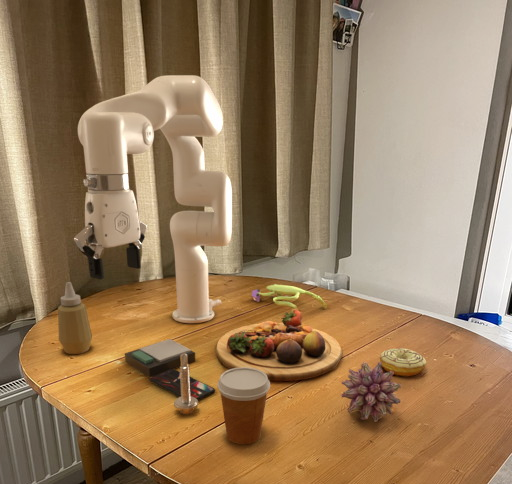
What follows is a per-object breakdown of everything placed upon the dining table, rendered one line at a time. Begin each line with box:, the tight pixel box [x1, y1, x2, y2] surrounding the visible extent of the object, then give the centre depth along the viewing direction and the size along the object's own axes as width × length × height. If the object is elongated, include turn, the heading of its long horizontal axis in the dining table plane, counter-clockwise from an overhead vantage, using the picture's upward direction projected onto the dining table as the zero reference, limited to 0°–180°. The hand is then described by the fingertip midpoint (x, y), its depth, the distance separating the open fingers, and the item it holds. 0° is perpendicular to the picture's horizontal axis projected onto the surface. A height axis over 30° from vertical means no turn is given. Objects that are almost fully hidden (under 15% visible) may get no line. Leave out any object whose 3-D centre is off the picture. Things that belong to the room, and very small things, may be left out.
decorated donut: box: [379, 347, 427, 377], centre depth 120 cm, size 10×11×4 cm
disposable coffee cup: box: [216, 367, 271, 445], centre depth 91 cm, size 10×10×12 cm
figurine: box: [251, 283, 328, 310], centre depth 163 cm, size 18×27×6 cm
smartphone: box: [149, 368, 216, 401], centre depth 111 cm, size 7×1×15 cm
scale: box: [124, 338, 196, 378], centre depth 122 cm, size 13×11×3 cm
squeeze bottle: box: [57, 281, 93, 355], centre depth 125 cm, size 8×8×18 cm
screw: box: [173, 353, 199, 416], centre depth 99 cm, size 13×5×5 cm
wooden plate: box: [215, 309, 343, 382], centre depth 126 cm, size 32×32×8 cm
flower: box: [340, 361, 403, 423], centre depth 98 cm, size 12×12×12 cm
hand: (116, 272), depth 99 cm, fingers open, 9 cm apart
